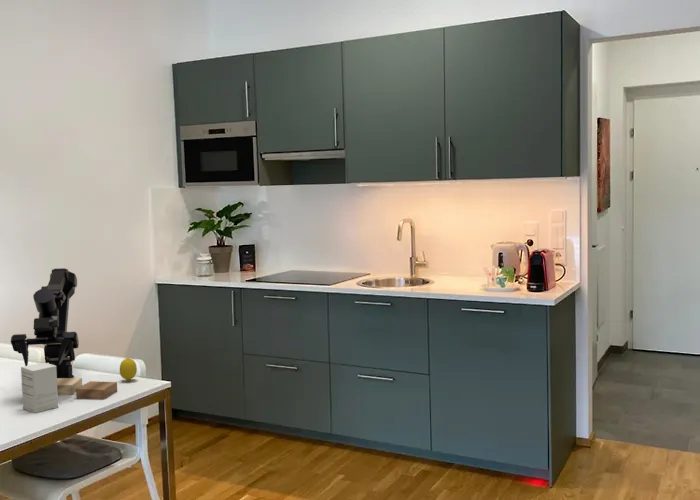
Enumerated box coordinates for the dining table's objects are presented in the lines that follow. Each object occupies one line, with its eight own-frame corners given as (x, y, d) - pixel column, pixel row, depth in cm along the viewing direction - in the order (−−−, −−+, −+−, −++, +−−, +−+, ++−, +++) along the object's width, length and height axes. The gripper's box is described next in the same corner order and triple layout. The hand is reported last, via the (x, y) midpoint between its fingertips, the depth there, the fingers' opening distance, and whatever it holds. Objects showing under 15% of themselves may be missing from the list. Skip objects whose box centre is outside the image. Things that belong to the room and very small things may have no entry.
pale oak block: (43, 395, 224) (43, 385, 224) (54, 387, 233) (54, 378, 233) (72, 394, 225) (72, 385, 224) (82, 386, 234) (82, 377, 233)
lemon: (139, 379, 243) (138, 355, 242) (133, 383, 238) (132, 359, 237) (123, 378, 244) (123, 355, 243) (117, 383, 238) (116, 359, 238)
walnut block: (76, 398, 220) (75, 388, 220) (90, 390, 229) (90, 381, 229) (103, 399, 219) (103, 389, 219) (117, 391, 228) (116, 382, 228)
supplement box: (46, 403, 216) (44, 361, 215) (58, 407, 211) (57, 365, 210) (22, 408, 210) (20, 366, 209) (34, 413, 206) (32, 370, 205)
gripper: (10, 308, 217) (3, 351, 207) (76, 305, 221) (71, 348, 211) (17, 329, 225) (10, 372, 215) (80, 326, 229) (76, 368, 219)
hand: (42, 364), depth 215 cm, fingers open, 9 cm apart
